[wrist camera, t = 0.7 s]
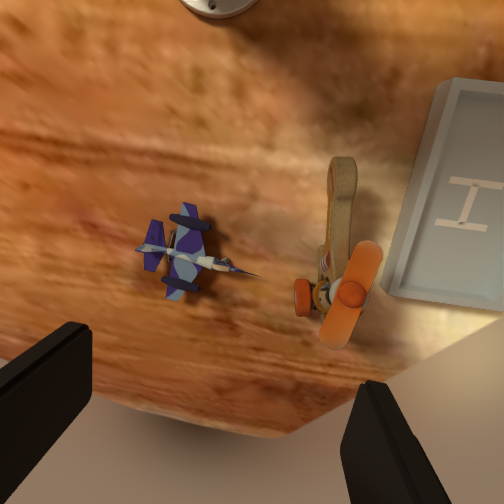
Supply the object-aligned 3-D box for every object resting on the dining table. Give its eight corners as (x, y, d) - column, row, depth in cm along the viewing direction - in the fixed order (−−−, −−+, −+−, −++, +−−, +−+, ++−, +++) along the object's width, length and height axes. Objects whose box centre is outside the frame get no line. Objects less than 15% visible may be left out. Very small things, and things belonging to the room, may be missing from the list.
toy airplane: (265, 270, 39) (264, 280, 35) (181, 307, 42) (172, 320, 38) (219, 183, 36) (213, 185, 32) (132, 230, 39) (118, 236, 35)
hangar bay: (437, 85, 31) (453, 76, 28) (570, 100, 30) (601, 93, 27) (379, 285, 38) (388, 295, 35) (485, 300, 37) (502, 311, 35)
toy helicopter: (293, 311, 40) (302, 382, 27) (295, 159, 34) (307, 155, 21) (352, 312, 39) (390, 385, 26) (365, 156, 33) (422, 151, 20)
